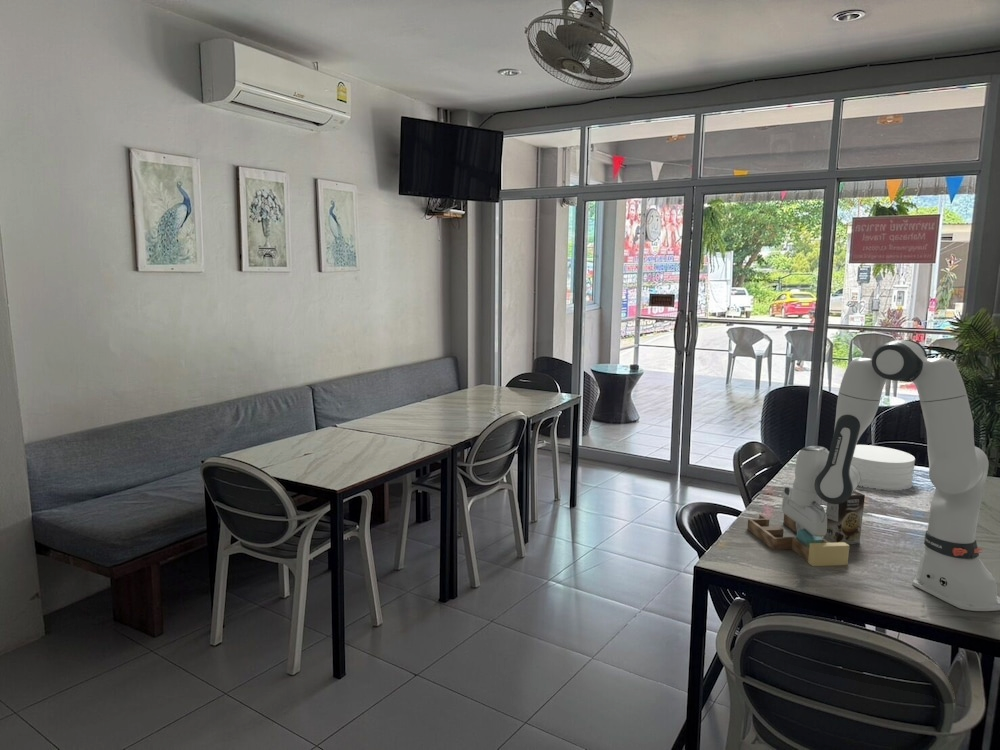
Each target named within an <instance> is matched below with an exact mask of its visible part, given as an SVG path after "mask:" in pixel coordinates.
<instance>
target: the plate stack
mask: <svg viewBox="0 0 1000 750" xmlns="http://www.w3.org/2000/svg"><path fill="white" fill-rule="evenodd" d="M915 463H916V458H915V456H914V455H912V454H911V453H909V452H906V451H903V450H900V449H895V448H891V447H885V446H878V445H870V444H869V445H868V444H856V447H855V451H854V455H853V459H852V463H851V464H852V465H854V466H855V467H856V468H857V469H858V471H859V473H860V477H861V479H860V483H859V487H862V486H863V488H867V487H869V488H868V489H873V488H876V489H875V490H881V489H884V490H883V491H903V490H902V489H904V490H908V489H911V488H912V486H913V479H914V476H913V475H914V470H915V469H914V468H915Z"/></svg>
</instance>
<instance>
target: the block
mask: <svg viewBox="0 0 1000 750" xmlns="http://www.w3.org/2000/svg"><path fill="white" fill-rule="evenodd" d="M795 538H796V539H797V540H799V541H800V542H802V543H803V544H804V545H806V546H807V547H808V548H809V546H810V543H822V541H823V539H822V538H821V537H816V536H813V535H812V534H811V533H809V532H808V531H807V530H805V529H800V530H799V532H798V534H797V533H796V537H795Z"/></svg>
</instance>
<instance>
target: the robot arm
mask: <svg viewBox="0 0 1000 750" xmlns="http://www.w3.org/2000/svg"><path fill="white" fill-rule="evenodd" d="M888 381H892V382H893V381H894V382H903V383H904V382H905V383H913V384H914V386H915V387H916V390H917V394H918V399H919V403H920V409H921V411H922V416H923V420H924V426H925V429H926V444H927V446H926V447H927V456H928V457H927V458H928V469H929V470H928V477H929V479H930V482H931V484H932V486H934V487H935V489H934V493H933V497H932V500H931V503H930V508H929V509H930V510H929V516H928V524H927V529H926V530H925V532H924V533H925V535H924V536H923V537H924V538H923V539H924V540H923V543H924V545H925V546H924V549H923V552H922V553H921V557H920V559H919V563H918V566H917V571H916V574H915V576H914V579H913V581H912V586H914V587H916V588H918V589H920V590H922V591H924V592H926V593H927V594H930V595H933V596H934V597H936V598H938V599H940V600H942V601H944V602H946V603H948V604H950V605H952V606H954V607H956V608H958V609H961V610H965V611H972V612H994V611H1000V596H998V586H997V581H996V579H995V578H994V575H993V574H992V573H991V572H990V571H989V570H988V569H987V567H986V565H985V564H984V563H983V562H982V560H981V559H980V557H979V556H980V554H981V553H983V552H982V551H983V549H984V548H978V544H977V540H976V534H977V533H976V532H977V528H978V519H979V513H980V510H981V509H980V508H981V505H982V500H983V496H984V492H985V489H986V488H985V487H986V483H987V477H988V471H989V466H990V465H989V464H990V463H989V459H988V455H987V454H986V453H985V451H983V450H982V449H981V447H977V446H976V445H975V436H974V435H975V433H974V432H975V431H974V428H975V427H974V425H975V423H974V419H973V416H972V415H973V414H972V410H971V406H970V402H969V401H970V400H969V397H968V393H967V390H966V386H965V383H964V380H963V378H962V375H961V372H960V370H959V368H958V366H957V364H956V363H955V362H954V361H953V360H951V359H950V358H945V357H932V358H930V357H928V354H927V351H926V349H925V347H924V346H923V345H921V344H920V343H919V342H917V341H914V340H911V339H895V340H892V341H891V340H890V341H888V342H885V343H883V344H880V346H878V347H877V348H876V350H875V351H874V353H873V354H872V358H869V357H858V358H854V359H852V360H851V361H850V362H849V363H848V365H847V367H846V368H845V372H844V373H843V376H842V379H841V383H840V385H839V390H838V396H837V401H836V410H835V421H834V431H833V436H832V439H831V443H830V448H829V450H828V448H826V447H824V446H820V445H810V446H805V447H803V448H801V449H800V450H799V451H798V453H797V457H796V461H795V466H794V481H793V483H792V485H791V486H790V485H786V486H785V485H784V487H783V491H782V492H783V493H784V494H783V496H782V503H781V511H782V513H783V515H784V514H785V515H787V516H788V517H789V518H791V519H792V520H793V521H795V522H796V529H797V533H796V535H797V534H798V532H799V530H800V529H805V530H807V531H808V532H809V533H811V534H812V535H813V536H816V537H823V536H825V535H826V532H827V514H826V510H825V508H824V506H822V502H826V504H827V503H830V504H841V503H844V502H846V501H847V500H848V499H849V498H850V496H851V494H852V492H853V491H855V490H856V489H857V488H858V485H859V483H860V479H861V477H860V473H859V471H858V469H857V468H856V467H855V466H854V465H852V464H851V463H852V459H853V455H854V451H855V447H856V445H858V442H859V440H860V438H861V436H862V435H863V434H864V432H865V431H866V430H867V428H868V427H869V426H870V425H871V423H872V422H873V421H874V418H875V416H876V414H877V412H878V409H879V407H880V402H881V399H882V398H881V397H882V393H883V389H884V387H885V385H886V383H887V382H888Z"/></svg>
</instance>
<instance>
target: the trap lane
mask: <svg viewBox="0 0 1000 750" xmlns="http://www.w3.org/2000/svg"><path fill="white" fill-rule="evenodd" d="M782 523H783V524H784V525H785V526H786V527H788V528H789V529H790V530H792V531H793V532H795V533H796V534H797V529H796V522H795V521H793V520H792V519H791V518H789V517H788V516H787V515H785V514H784V513H783V522H782ZM746 529H747V530H748V531H749V532H750V533H752V534H753V535H754V536H755V537H757V538H758V539H759V540H760V541H762V542H763V543H764V544H765V545H767V546H768V547H769V548H771V550H792V551H793V552H795V553H796V554H797V555H798V556H800V557H802V559H804V560H806V561H807V562H808V557H809V548H808V547H807V546H806V545H804V544H803V543H802V542H800V541H799V540H797V539H796V537H794V536H784V532H785V530H784V529H783V528H782V527H781V526H779V525H778V526H777V525H776V526H775V525H774V526H771V525H770V519H769V518H768V517H766V515H764V514H762V513H760V514H759V515H758V518H748V519H747V527H746ZM821 538H822V539H823V541H822V543H831V542H830V541H828V540H826V539H824V538H823V537H821Z"/></svg>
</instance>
